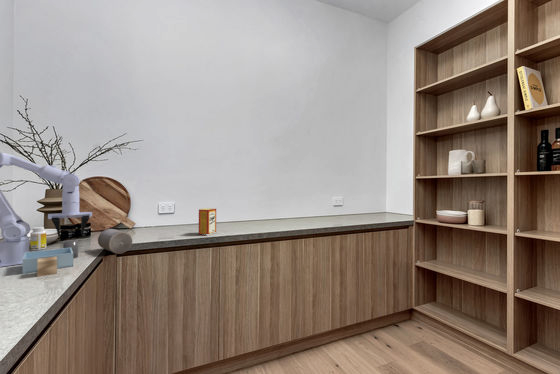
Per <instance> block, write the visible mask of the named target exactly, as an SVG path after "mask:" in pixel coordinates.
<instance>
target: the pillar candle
mask: <svg viewBox="0 0 560 374" xmlns="http://www.w3.org/2000/svg"><path fill="white" fill-rule="evenodd" d="M97 243H98V246H99V247H100V248H102V249H104V250H106V251H109V252H111V253H114V254H117V255H119V254H125V253H126V252H128V251H129V250H130V249H131V247H132V245H133V237H132V236H131V235H130V233H128V232H125V231H121V230H118V229H116V228H115V229H114V228H108V229H104V230H103V231H102V232H100V234H99V235H98V238H97Z"/></svg>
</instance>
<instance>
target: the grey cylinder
mask: <svg viewBox="0 0 560 374" xmlns="http://www.w3.org/2000/svg"><path fill="white" fill-rule="evenodd" d="M70 247H71V248H72V251H73V259H76V258H78V257H79V239H67V240H63V241H62V248H70Z"/></svg>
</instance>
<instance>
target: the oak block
mask: <svg viewBox="0 0 560 374" xmlns="http://www.w3.org/2000/svg"><path fill="white" fill-rule="evenodd" d="M36 273H37V277H38V278H39V277H44V276H51V275H56V274H58V269H57V256H56V257H49V258H41V259H38V262H37V272H36Z"/></svg>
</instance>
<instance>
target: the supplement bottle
mask: <svg viewBox="0 0 560 374" xmlns="http://www.w3.org/2000/svg"><path fill="white" fill-rule="evenodd" d="M29 233H30V236H29V249H30V250H31V251H32V252H35V251H44V250H47V249H46V248H47V231H46V230H45V227H44V226H37V227H32V231H31V232H29Z"/></svg>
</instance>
